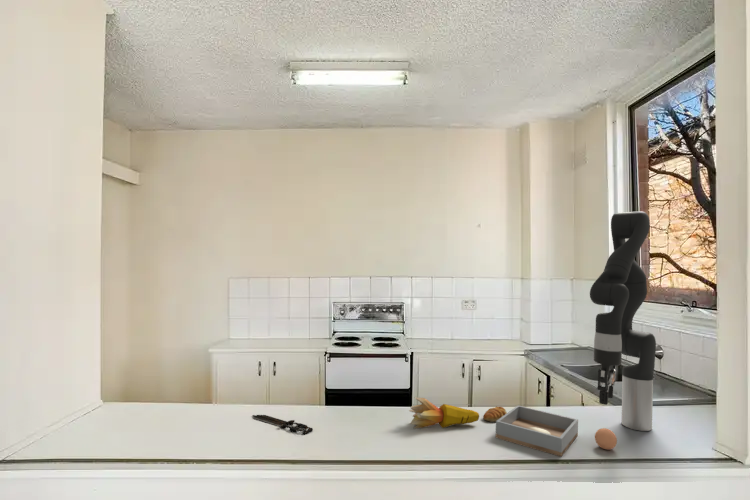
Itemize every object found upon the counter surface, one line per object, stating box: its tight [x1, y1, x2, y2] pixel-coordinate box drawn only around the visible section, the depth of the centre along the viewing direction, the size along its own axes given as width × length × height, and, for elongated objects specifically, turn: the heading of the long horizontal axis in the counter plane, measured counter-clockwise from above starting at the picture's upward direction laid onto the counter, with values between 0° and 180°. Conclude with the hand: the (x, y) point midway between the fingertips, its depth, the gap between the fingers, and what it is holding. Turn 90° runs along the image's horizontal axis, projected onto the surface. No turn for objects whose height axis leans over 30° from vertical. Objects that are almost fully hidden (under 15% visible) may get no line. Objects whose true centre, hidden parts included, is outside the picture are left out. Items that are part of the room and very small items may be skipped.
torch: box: [408, 397, 480, 429], centre depth 147 cm, size 8×8×25 cm
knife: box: [252, 414, 313, 436], centre depth 145 cm, size 25×6×1 cm, turn 54°
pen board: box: [495, 418, 579, 457], centre depth 140 cm, size 20×20×1 cm
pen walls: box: [495, 404, 579, 453], centre depth 140 cm, size 20×20×4 cm
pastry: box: [482, 406, 508, 423], centre depth 155 cm, size 9×7×4 cm
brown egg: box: [594, 427, 618, 450], centre depth 133 cm, size 6×6×6 cm
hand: (606, 400), depth 133 cm, fingers open, 8 cm apart
